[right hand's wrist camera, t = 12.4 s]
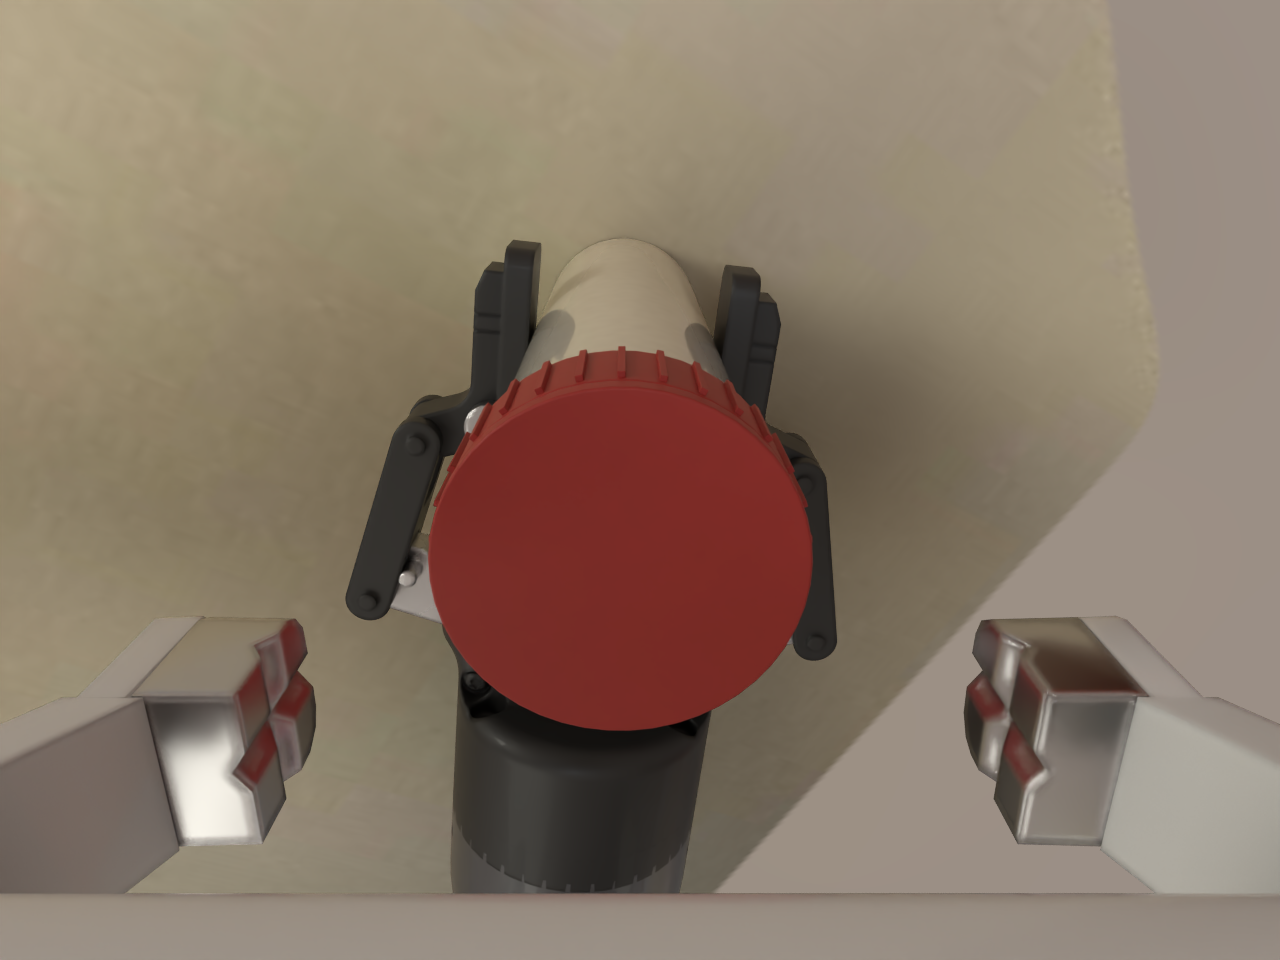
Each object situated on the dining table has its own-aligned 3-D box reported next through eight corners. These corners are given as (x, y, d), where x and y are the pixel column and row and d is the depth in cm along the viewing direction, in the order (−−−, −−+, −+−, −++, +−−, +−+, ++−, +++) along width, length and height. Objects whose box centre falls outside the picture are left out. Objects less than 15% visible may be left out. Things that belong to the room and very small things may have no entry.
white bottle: (538, 367, 30) (433, 668, 13) (564, 223, 28) (480, 365, 12) (676, 396, 30) (739, 722, 14) (711, 256, 29) (830, 438, 12)
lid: (427, 628, 15) (399, 701, 13) (477, 308, 13) (452, 340, 11) (742, 685, 16) (759, 763, 14) (835, 386, 14) (870, 428, 12)
